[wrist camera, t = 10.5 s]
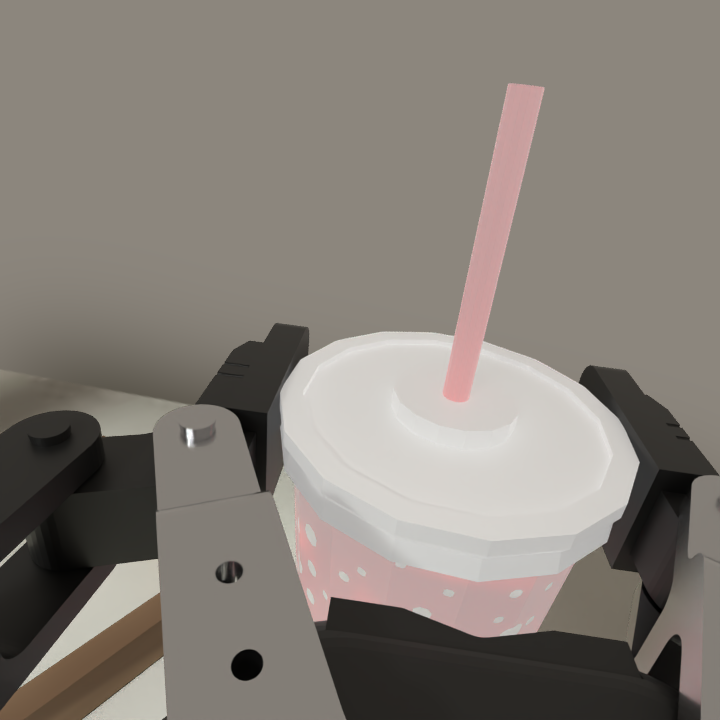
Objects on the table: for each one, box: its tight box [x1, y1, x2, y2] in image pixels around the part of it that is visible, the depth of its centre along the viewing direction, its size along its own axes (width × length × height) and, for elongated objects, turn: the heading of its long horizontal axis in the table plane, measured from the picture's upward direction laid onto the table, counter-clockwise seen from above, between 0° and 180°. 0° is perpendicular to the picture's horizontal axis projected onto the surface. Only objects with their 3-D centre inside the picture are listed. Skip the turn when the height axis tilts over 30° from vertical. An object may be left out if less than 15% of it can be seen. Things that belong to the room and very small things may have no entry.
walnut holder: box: [0, 436, 164, 720], centre depth 20 cm, size 11×11×2 cm
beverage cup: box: [280, 83, 640, 637], centre depth 10 cm, size 6×6×14 cm
